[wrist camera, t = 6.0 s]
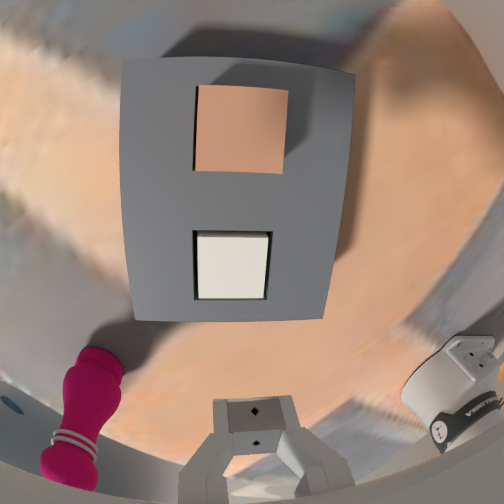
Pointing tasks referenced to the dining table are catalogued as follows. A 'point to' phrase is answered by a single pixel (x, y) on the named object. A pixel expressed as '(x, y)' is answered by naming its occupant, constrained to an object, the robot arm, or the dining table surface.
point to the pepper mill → (83, 419)
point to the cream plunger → (231, 263)
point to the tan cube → (241, 129)
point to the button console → (230, 188)
